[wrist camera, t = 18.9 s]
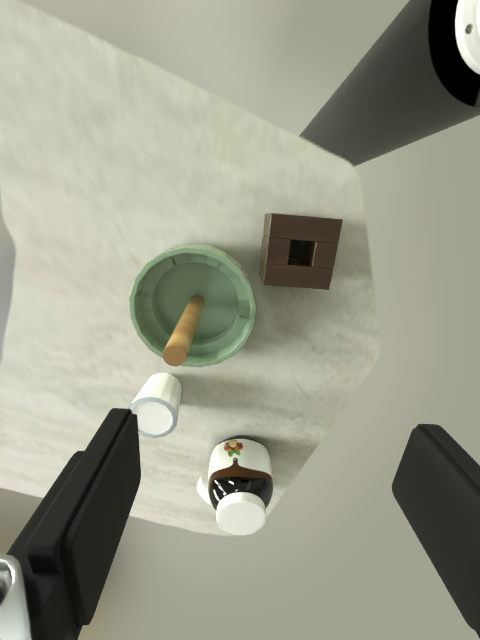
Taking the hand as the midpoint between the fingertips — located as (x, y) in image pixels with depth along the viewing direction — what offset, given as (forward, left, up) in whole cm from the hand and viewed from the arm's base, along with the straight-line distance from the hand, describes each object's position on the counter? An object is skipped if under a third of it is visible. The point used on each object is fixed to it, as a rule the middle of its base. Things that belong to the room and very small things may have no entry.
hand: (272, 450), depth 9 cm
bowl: (+4, -6, -30) cm, 31 cm away
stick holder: (-4, +6, -30) cm, 31 cm away
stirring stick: (+4, -6, -30) cm, 31 cm away
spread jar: (+33, +1, -31) cm, 45 cm away
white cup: (+19, -11, -31) cm, 38 cm away
